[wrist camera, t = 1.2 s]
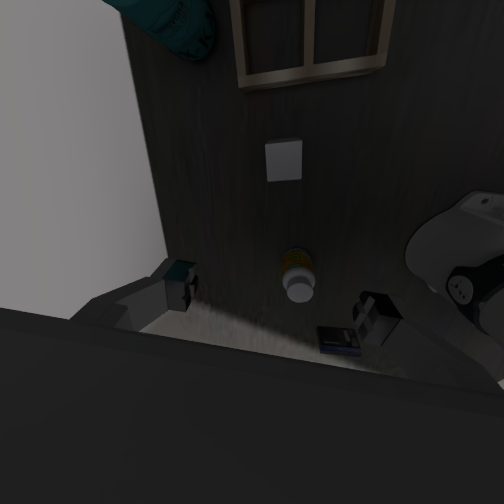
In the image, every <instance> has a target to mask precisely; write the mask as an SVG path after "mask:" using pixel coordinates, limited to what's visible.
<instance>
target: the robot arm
mask: <svg viewBox="0 0 504 504" xmlns="http://www.w3.org/2000/svg"><path fill="white" fill-rule="evenodd" d="M482 200H484V201H483V202H482ZM405 261H406V264H407V267H408V268H409V270H410V271H411V272H412V273H413V274H415V275H416V276H418V277H420V278H421V279H422V280H424V281H425V283H426V285H427V286H428V288H430V289H431V290H432V291H433V292H438V293H439V294H441V295H442V296H443V297H444V298H445V299H447V300H448V301H449V302H450V303H452V304H453V305H454V306H455V307H456V308H458V310H459V311H460V312H461V313H462V314H463V315H464V316H465V317H466V318H467V319H468V320H469V322H470V323H471V324H472V325H473V326H475V327H476V328H477V329H478V330H480V331H481V332H482V333H484V334H486V335H488V336H490V337H492V338H493V339H494V340H495V341H496V342H497V343H498V344H499V345H500V346H501V347H502V348H503V349H504V194H503V193H494V192H486V191H473V192H471V193H469V194H467V195H466V196H465V197H463V198H462V199H461V200H460V201H459V202H458V203H457V204H455V205H454V206H453V207H452V208H450V209H449V210H447V211H445V212H443V213H441V214H439V215H437V216H435V217H434V218H432V219H431V220H429V221H428V222H426V223H425V224H424V225H423V226H422V227H420V228H419V229H418V230H417V232H416V233H415V234H414V235H413V236H412V238H411V240H410V241H409V243H408V245H407V248H406V252H405ZM197 271H198V264H197V263H194V262H188V261H183V260H177V259H171V258H166V259H165V260H164V261H163V262H162V263H161V264H160V266H159V267H158V268H157V269H156V270H155V271H154V273H153V274H152V275H151V276H150V277H144V278H142V279H140V280H137V281H135V282H132V283H130V284H127V285H125V286H122V287H120V288H117V289H115V290H112V291H110V292H107V293H105V294H102V295H100V296H98V297H95V298H93V299H91V300H90V301H89V302H88V303H87V304H86V305H85V306H83V307H82V308H81V309H80V310H79V311H78V312H77V313H76V314H75V315H74V316H73V317H72V318H70V319H69V320H68V319H63V318H57V317H51V316H45V315H39V314H34V313H28V312H22V311H17V310H11V309H5V308H0V504H504V390H503V389H502V388H501V386H500V385H499V384H498V383H497V382H496V381H495V379H494V378H493V377H492V376H491V375H490V373H489V372H488V371H487V370H486V369H485V368H484V366H482V365H481V364H479V363H478V362H477V361H475V360H474V359H472V358H471V357H469V356H468V355H466V354H465V353H464V352H462V351H461V350H459V349H458V348H456V347H455V346H454V345H452V344H451V343H449V342H448V341H446V340H445V339H443V338H442V337H441V336H439V335H438V334H436V333H435V332H433V331H432V330H431V329H429V328H428V327H426V326H425V325H423V324H422V323H420V322H417V321H416V320H415V319H414V317H413V316H412V314H411V313H410V312H409V310H408V309H407V307H406V306H405V305H404V303H403V302H402V300H401V299H400V298H399V297H398V296H397V295H391V294H382V293H375V292H369V291H363V292H362V293H361V294H360V296H359V298H360V301H359V302H357V303H355V305H354V308H353V319H354V322H355V323H356V324H357V325H358V326H359V329H358V332H359V335H360V337H361V340H362V342H363V343H368V344H373V345H379V346H381V347H382V349H383V350H384V351H385V352H386V353H387V354H388V355H389V356H390V357H391V358H392V359H393V361H394V362H395V363H396V364H397V365H398V366H399V367H400V368H401V369H402V370H403V371H404V372H405V374H406V375H407V376H408V377H409V378H410V379H406V378H400V377H394V376H389V375H383V374H377V373H371V372H366V371H360V370H354V369H349V368H343V367H337V366H332V365H326V364H320V363H314V362H309V361H303V360H297V359H292V358H286V357H280V356H274V355H269V354H263V353H257V352H251V351H246V350H240V349H234V348H229V347H223V346H217V345H211V344H205V343H199V342H194V341H188V340H183V339H177V338H171V337H165V336H160V335H154V334H148V333H143V332H138V331H140V330H141V329H143V328H144V327H146V326H147V325H148V324H150V323H151V322H153V321H154V320H155V319H157V318H158V317H160V316H161V315H162V314H164V313H165V312H167V311H168V310H175V311H182V312H186V311H187V309H188V307H189V305H190V303H191V297H192V296H194V295H195V293H196V290H197V287H198V276H197V275H196V273H197Z"/></svg>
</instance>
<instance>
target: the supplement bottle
mask: <svg viewBox="0 0 504 504" xmlns="http://www.w3.org/2000/svg"><path fill="white" fill-rule="evenodd" d="M282 282H283V286H284V288H285V289H286V290H287V295H288V297H289V298H290V299H291V300H292V301H295V302H306V301H308V300H309V299H311V297H312V296H313V287H314V285H315V276H314V272H313V267H312V263H311V258H310V256H309V254H308V253H307V252H306V251H305V250H303V249H299V248H294V249H290V250H289V251H287V252H286V253H285V254H284V256H283V259H282Z"/></svg>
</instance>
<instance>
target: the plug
mask: <svg viewBox="0 0 504 504" xmlns="http://www.w3.org/2000/svg"><path fill="white" fill-rule="evenodd" d="M265 151H266V167H267V182H270V181H282V180H295V179H302V140H301V139H299V138H297V137H293V138H284V139H275V140H269V141H268V142H267V143H266V144H265Z"/></svg>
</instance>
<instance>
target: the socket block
mask: <svg viewBox="0 0 504 504" xmlns="http://www.w3.org/2000/svg"><path fill="white" fill-rule="evenodd" d="M229 1H230V10H231V19H232V29H233V38H234V47H235V57H236V66H237V75H238V85H239V88H240V89H241V90H242V91H243V92H251V91H257V90H264V89H271V88H277V87H284V86H291V85H298V84H304V83H311V82H318V81H325V80H331V79H338V78H345V77H352V76H358V75H365V74H371V73H373V72H375V71H377V70H378V69H380V68H382V67H383V66H385V64H386V57H387V51H388V45H389V39H390V33H391V27H392V21H393V15H394V9H395V3H396V0H372V5H371V13H370V21H369V29H368V37H367V45H366V53H365V57H359V58H353V59H347V60H340V61H334V62H328V63H322V64H315V65H313V55H314V25H315V0H302V21H301V67H297V68H291V69H284V70H278V71H272V72H266V73H259V74H253V75H250V71H249V59H248V47H247V35H246V23H245V11H244V5H246V4H250V3H255V2H260V1H264V0H229Z"/></svg>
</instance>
